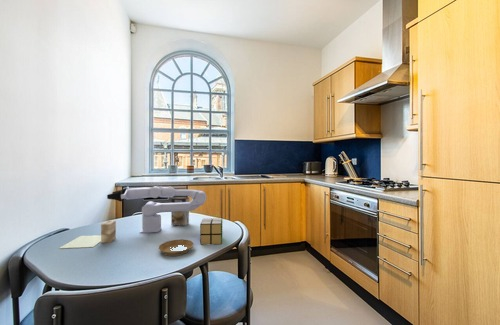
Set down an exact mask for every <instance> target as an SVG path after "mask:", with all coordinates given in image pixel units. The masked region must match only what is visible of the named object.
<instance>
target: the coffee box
mask: <svg viewBox="0 0 500 325" xmlns="http://www.w3.org/2000/svg"><path fill="white" fill-rule="evenodd" d="M180 202H190V197H189V196H176V197H175V196H174V197H171V203H180ZM189 217H190V211H174V212H171V220H170V221H171V222H170V225H171V226H186V225H188V224H189V223H190V218H189Z"/></svg>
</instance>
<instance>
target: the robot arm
mask: <svg viewBox="0 0 500 325" xmlns="http://www.w3.org/2000/svg"><path fill="white" fill-rule="evenodd" d="M175 196H179V197H189V198H191V200H189V202H180V203H172V202H163V203H162V202H155V201H153V200H152V201H150V200H149V201H148V202H146V203H145V205H143V206H142V207H141V213H142V215H141V216H142V219H141V220H142V221H141V222H142V226H141V227H142V229H141V230H139V234H143V233H145V234H146V233H147V234H148V233H149V234H150V233H159V232H160V230H161V229H162V216H161V214H159V213H170V212H174V211H189V212H190V211H195V210H196V209H198V208H200V207H201V206H203V205H204V204H205V202H206V201H207V198H208V197H207V194H206V192H205V191H204V190H199V189H175V187H172V186H171V185H169V186H162V185H159V186H156V185H154V186H152V187H136V188H135V187H134V188H133V187H132V188H130V187H129V186H126V187H125V188H123V189H121V190H116V191H112V192H111V193H109V194H107V195H106V197H107V199H108V200H114V201H118V202H123V199H125V200H128V201H129V200H136V199H137V200H138V199H147V198H153V199H157V198H174V197H175Z"/></svg>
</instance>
